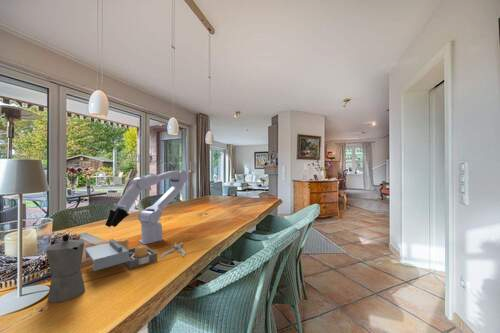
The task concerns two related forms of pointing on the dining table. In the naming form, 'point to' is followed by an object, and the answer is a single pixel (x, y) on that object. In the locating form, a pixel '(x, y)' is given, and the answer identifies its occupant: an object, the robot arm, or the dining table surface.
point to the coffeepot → (65, 269)
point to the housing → (140, 258)
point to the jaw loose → (124, 243)
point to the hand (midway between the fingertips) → (110, 226)
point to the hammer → (174, 249)
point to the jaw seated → (140, 251)
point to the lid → (107, 255)
